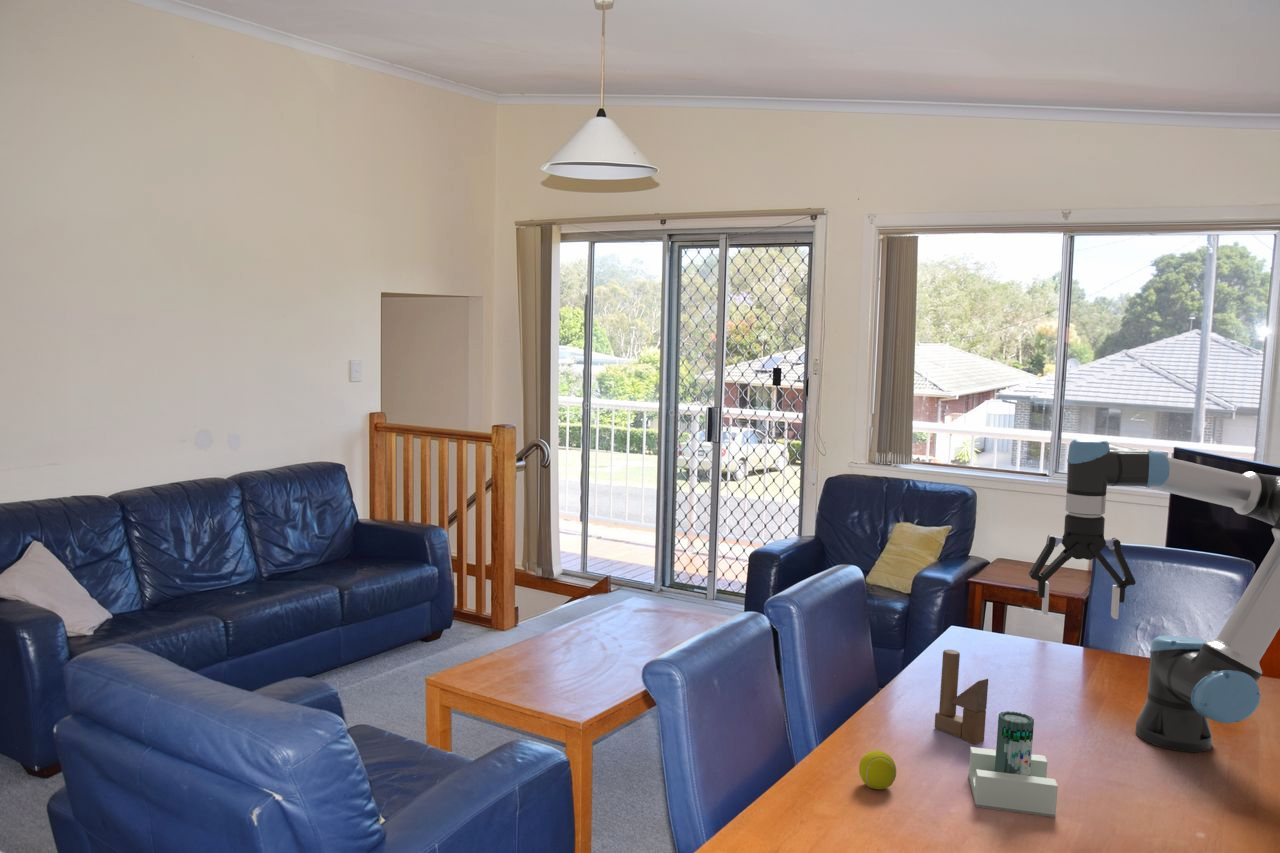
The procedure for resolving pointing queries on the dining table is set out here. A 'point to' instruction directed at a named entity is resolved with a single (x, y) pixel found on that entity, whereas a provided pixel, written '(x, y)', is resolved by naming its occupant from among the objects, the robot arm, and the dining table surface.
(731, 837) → the dining table surface
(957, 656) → the wooden block
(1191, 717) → the robot arm
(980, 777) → the socket block
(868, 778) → the tennis ball
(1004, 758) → the can
